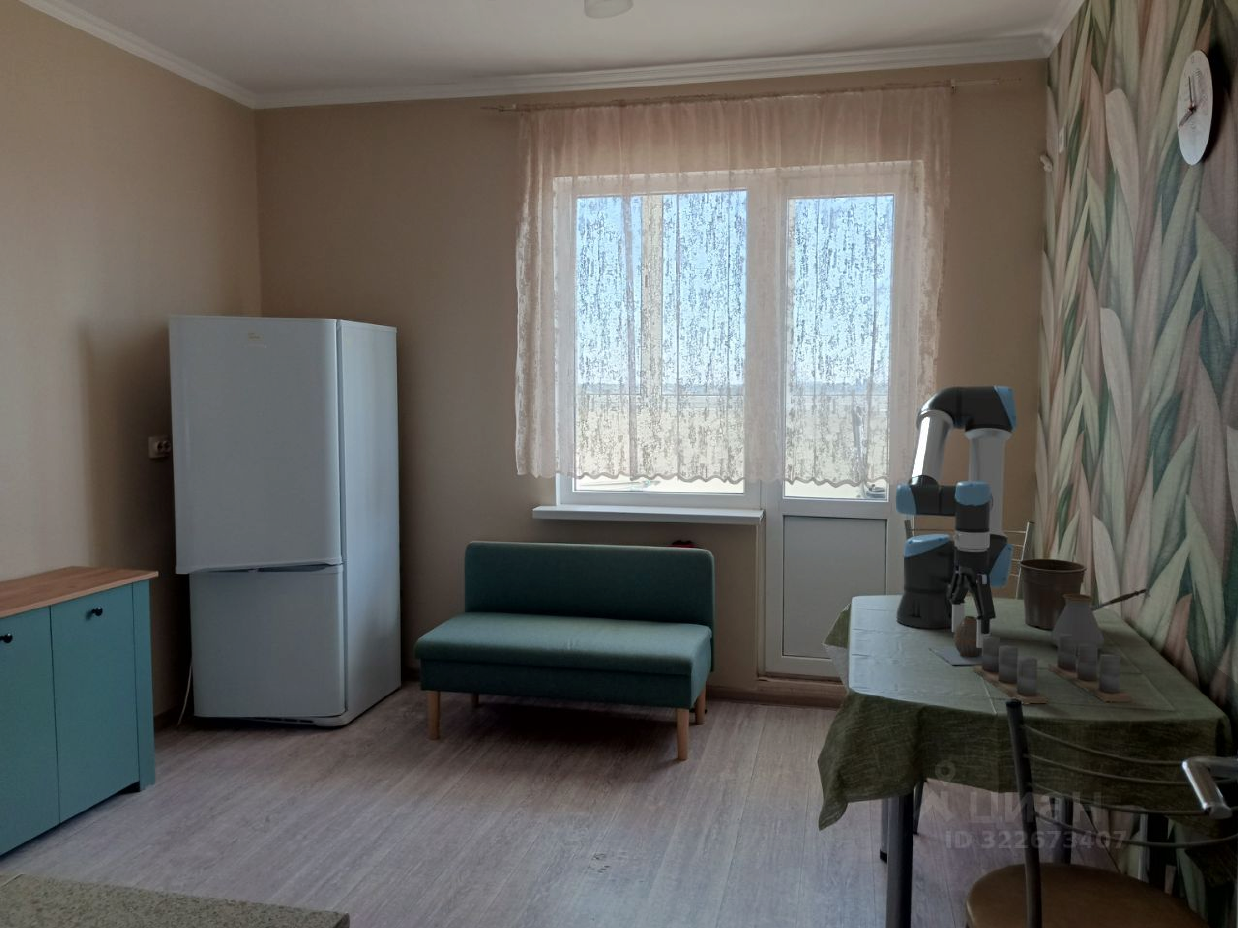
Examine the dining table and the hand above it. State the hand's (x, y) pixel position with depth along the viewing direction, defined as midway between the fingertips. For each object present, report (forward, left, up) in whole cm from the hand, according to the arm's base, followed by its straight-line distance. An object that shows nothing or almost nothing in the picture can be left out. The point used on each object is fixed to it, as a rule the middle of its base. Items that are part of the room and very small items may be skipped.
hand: (970, 639), depth 216 cm
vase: (0, 0, -4) cm, 4 cm away
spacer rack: (+22, +7, -4) cm, 23 cm away
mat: (0, 0, -4) cm, 4 cm away
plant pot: (-26, +33, -4) cm, 42 cm away
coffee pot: (-2, +32, -4) cm, 32 cm away
